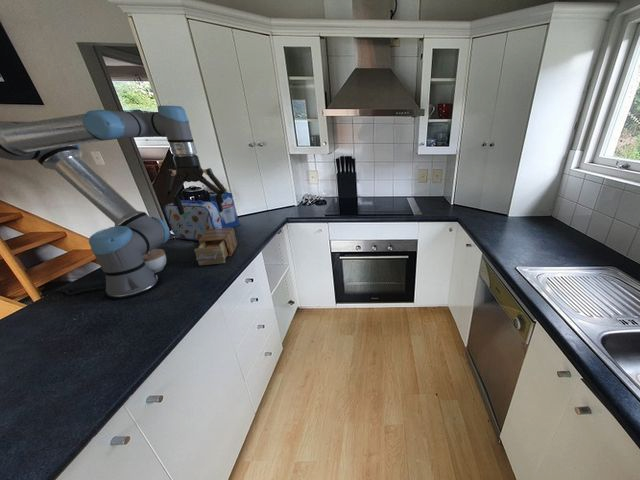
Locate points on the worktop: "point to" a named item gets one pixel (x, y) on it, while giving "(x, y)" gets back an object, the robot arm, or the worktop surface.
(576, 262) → the worktop surface
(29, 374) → the worktop surface
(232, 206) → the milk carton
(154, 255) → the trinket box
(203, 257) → the drawer
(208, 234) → the cabinet
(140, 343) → the worktop surface
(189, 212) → the lunch box
